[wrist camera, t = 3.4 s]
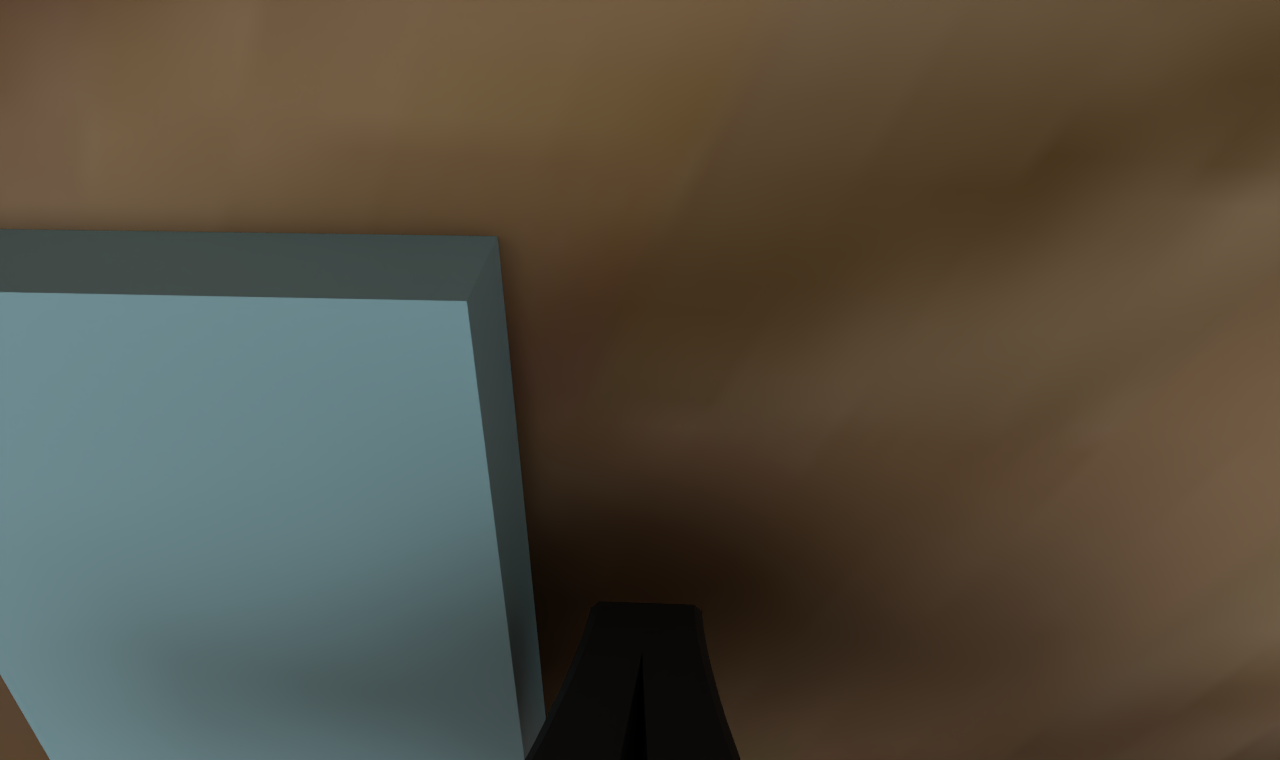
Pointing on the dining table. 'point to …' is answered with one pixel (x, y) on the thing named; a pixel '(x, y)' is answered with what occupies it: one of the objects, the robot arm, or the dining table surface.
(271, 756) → the rectangular block
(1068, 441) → the dining table surface
